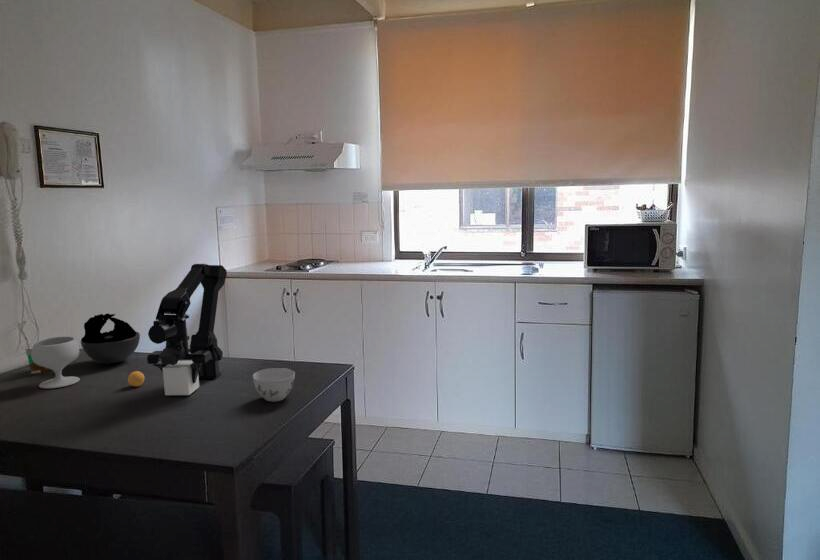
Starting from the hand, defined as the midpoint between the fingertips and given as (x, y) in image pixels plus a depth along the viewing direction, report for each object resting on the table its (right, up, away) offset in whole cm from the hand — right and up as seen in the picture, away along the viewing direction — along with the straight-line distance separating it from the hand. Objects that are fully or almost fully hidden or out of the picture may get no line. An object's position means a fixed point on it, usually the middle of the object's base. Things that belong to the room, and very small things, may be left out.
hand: (181, 383), depth 188 cm
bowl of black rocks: (-40, +1, +37) cm, 55 cm away
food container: (-60, -1, +29) cm, 67 cm away
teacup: (+32, -4, -6) cm, 32 cm away
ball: (-18, 0, +8) cm, 20 cm away
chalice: (-47, -3, +14) cm, 49 cm away
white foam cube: (0, -3, 0) cm, 2 cm away
